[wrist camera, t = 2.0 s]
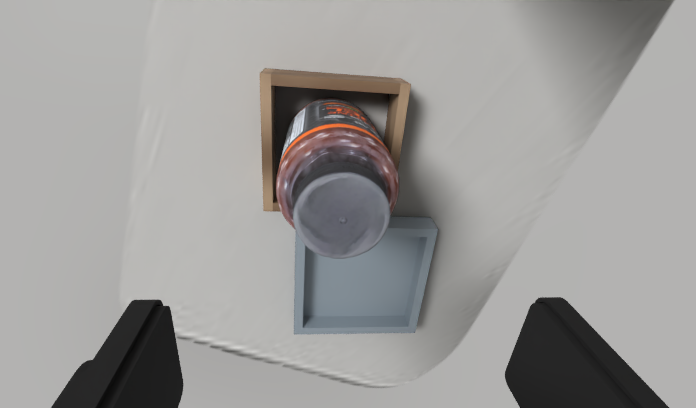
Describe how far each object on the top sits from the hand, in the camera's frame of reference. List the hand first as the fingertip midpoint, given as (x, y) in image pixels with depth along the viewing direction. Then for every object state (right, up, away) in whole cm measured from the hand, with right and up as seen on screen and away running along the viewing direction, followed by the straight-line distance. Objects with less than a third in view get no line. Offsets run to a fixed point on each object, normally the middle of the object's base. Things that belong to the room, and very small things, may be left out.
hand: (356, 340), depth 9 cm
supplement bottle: (-1, +8, +15) cm, 17 cm away
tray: (+1, -2, +20) cm, 20 cm away
